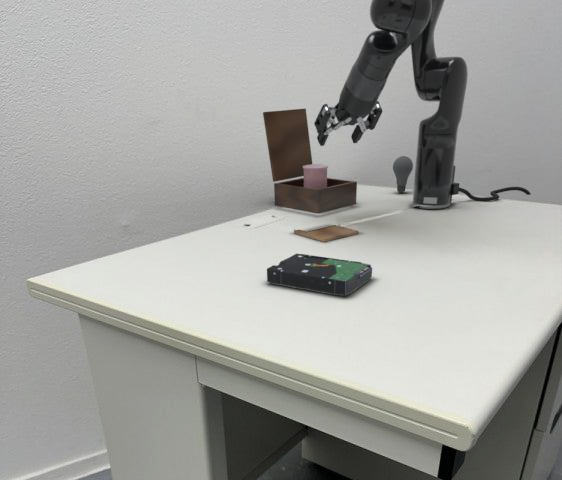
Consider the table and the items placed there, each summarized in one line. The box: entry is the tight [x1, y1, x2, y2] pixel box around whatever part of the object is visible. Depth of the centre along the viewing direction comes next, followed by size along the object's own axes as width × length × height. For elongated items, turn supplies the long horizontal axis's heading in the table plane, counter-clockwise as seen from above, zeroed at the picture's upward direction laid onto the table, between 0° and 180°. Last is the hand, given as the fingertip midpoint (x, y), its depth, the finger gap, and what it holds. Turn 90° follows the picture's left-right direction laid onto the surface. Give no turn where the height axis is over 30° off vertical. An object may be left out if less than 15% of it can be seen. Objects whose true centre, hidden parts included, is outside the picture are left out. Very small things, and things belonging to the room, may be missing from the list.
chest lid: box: [262, 108, 313, 183], centre depth 142 cm, size 16×15×1 cm
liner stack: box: [303, 163, 329, 189], centre depth 141 cm, size 6×6×10 cm
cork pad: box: [293, 224, 359, 243], centre depth 119 cm, size 10×10×1 cm
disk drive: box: [266, 253, 373, 296], centre depth 91 cm, size 10×3×15 cm
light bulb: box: [392, 155, 414, 194], centre depth 154 cm, size 6×6×10 cm
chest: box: [273, 177, 358, 214], centre depth 142 cm, size 16×15×6 cm
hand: (337, 141), depth 126 cm, fingers open, 8 cm apart
